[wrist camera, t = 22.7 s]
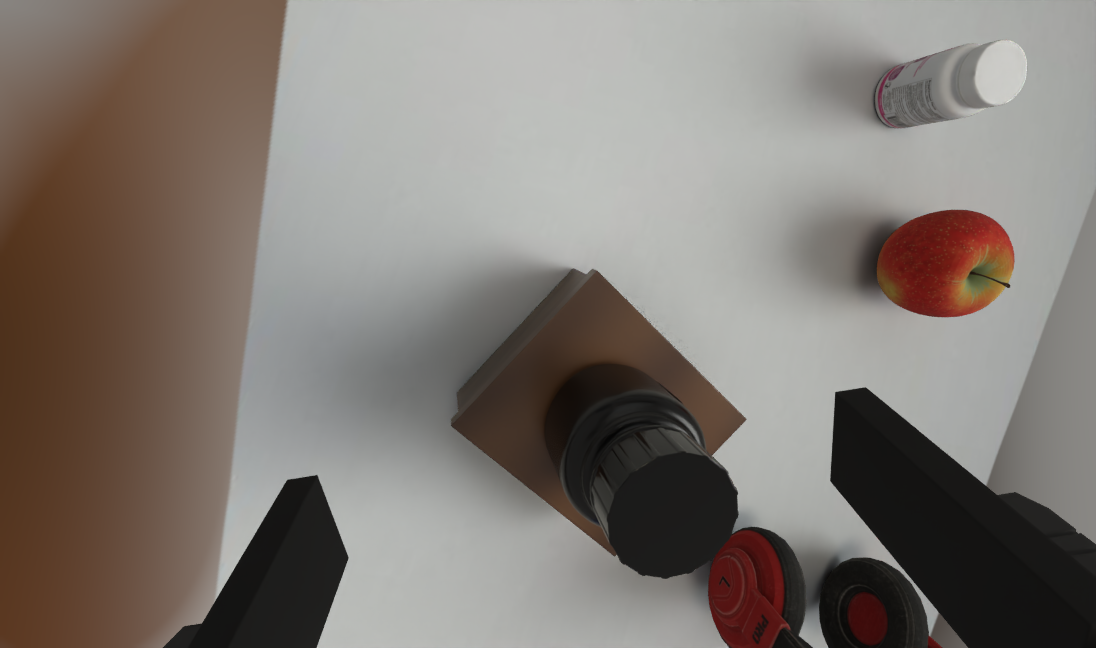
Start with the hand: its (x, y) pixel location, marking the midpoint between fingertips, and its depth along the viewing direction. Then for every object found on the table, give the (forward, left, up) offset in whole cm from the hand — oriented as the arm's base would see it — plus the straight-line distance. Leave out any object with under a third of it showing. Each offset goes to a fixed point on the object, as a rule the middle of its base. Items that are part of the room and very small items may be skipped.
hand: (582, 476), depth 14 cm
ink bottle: (+11, -1, -22) cm, 25 cm away
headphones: (+37, -1, -28) cm, 46 cm away
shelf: (+11, -1, -28) cm, 30 cm away
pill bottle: (+13, +33, -28) cm, 46 cm away
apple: (+23, +25, -28) cm, 44 cm away
